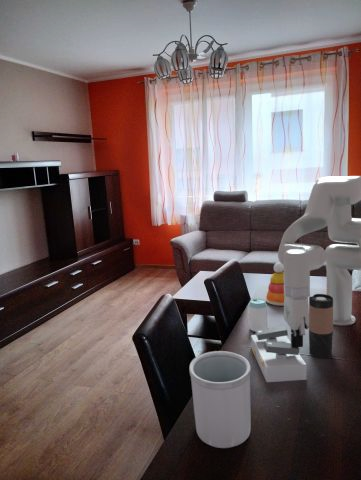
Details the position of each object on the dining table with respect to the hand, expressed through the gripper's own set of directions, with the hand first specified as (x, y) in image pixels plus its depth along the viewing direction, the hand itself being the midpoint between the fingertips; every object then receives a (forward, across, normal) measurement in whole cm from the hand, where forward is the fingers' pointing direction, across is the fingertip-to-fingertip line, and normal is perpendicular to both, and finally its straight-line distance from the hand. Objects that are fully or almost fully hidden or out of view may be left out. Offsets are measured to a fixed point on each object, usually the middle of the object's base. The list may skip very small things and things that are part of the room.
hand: (297, 345), depth 117 cm
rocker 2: (+1, 0, -5) cm, 5 cm away
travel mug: (+9, -10, +12) cm, 17 cm away
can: (+9, -32, -4) cm, 33 cm away
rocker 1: (+1, -11, -5) cm, 12 cm away
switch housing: (+8, -6, -5) cm, 11 cm away
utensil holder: (+8, +24, -28) cm, 37 cm away
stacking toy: (+9, -60, +13) cm, 62 cm away
